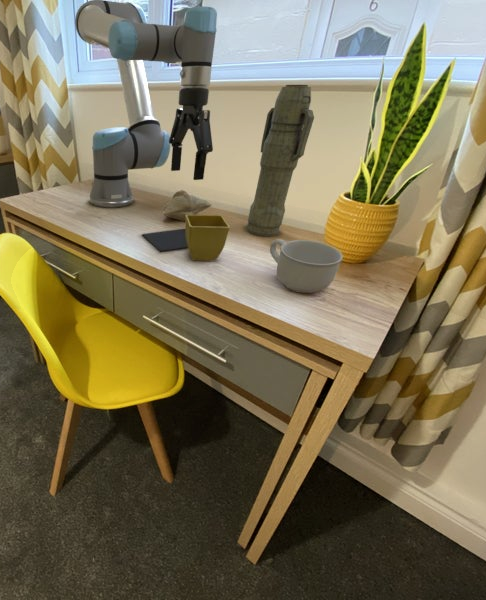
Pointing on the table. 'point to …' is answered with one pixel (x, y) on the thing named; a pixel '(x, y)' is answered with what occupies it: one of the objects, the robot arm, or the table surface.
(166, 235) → the mat
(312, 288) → the teacup
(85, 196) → the table surface
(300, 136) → the thermos
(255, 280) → the table surface
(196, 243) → the flower pot
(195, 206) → the seashell
